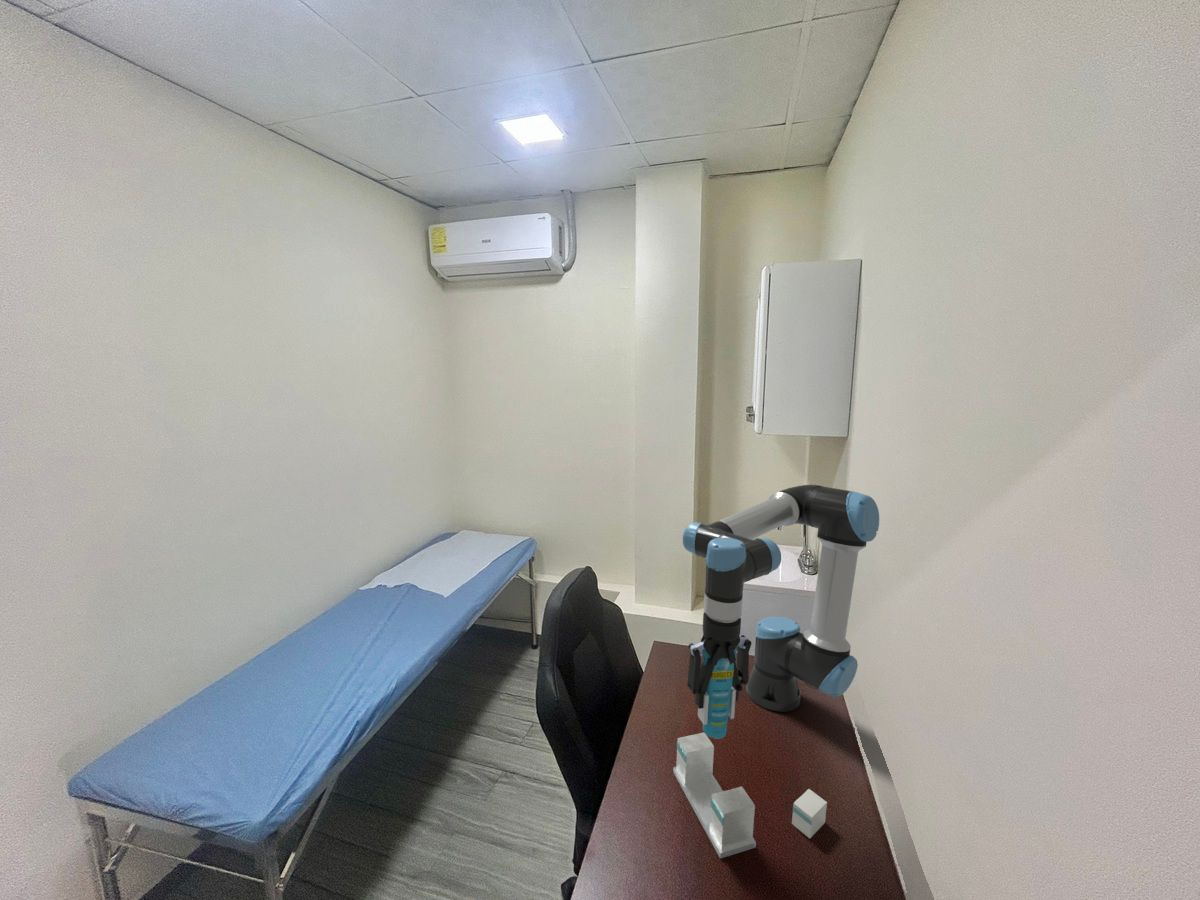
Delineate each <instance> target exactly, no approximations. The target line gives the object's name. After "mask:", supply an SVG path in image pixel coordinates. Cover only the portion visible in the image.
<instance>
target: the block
mask: <svg viewBox="0 0 1200 900" xmlns="http://www.w3.org/2000/svg"><path fill="white" fill-rule="evenodd" d="M827 806H828V802H827V801H826V800H825V799H823V798H822V797H821V796H819V795H818V794H817V793H816V792H814V791H813V790H811V789H810V788H808V789H807V790H805V792H804V793H803V794H802V795H800V796H799V797H798V798H797V799H796V800H795V801H794V802H793V806H792V816H791V817H792V818H791V824H792V825H793V826H794V827H795V828H796V829H798V830H799V831H800V832H801V833H802V834H803V835H805V837H807V838H808V839H811V838H812V837H814V835H815V834H816V833H817V832H818V831H819V830H820V829H821V828H822V827H823V825H824V824H825V823H826V818H827V817H826V816H827Z"/></svg>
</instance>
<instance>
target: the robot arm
mask: <svg viewBox="0 0 1200 900" xmlns="http://www.w3.org/2000/svg"><path fill="white" fill-rule="evenodd" d="M879 512H880V511H879V507H878V505H877V502H876V501H875V499H874V498H872V497H871V496H869V495H868V494H864V493H860V492H857V491H854V490H848V489H841V488H835V487H828V486H822V485H819V484H803V485H797V486H792V487H788V488H785V489H781V490H779V491H776V492H774V493H772V494H771V495H769V497H768V499H766V500H765V501H762V502H760V503H757V504H755V505H752V506H750V507H748V508H746V509H743V510H741V511H738V512H737V513H734V514H731V515H729V516H727V517H724V518H722V519H719V520H717V521H715V522H712V523H709V524H705V523H702V522H695V521H694V522H691V523H689V524H688V525H687V526H686V528H685V529H684V531H683V534H682V545H683V547H684V550H686V551H687V552H689V553H692V554H694V555H695V557H701V558H702V559H705V582H704V583H705V586H704V597H703V599H704V601H703V611H704V612H703V614H702V633H703V634H702V637H701V638H700V642H698V643H696V644H695V643H693V642H690V643H689V644H688V649H689V651H688V652H689V653H690V655H689V662H688V663H689V664H688V674H687V684H686V685H687V688H688V690H689V691H691V693H692V694H693V695H695V700H694V702H695V705H696V706H697V717H698V718H699V720H700V721H701V723H702V725H703V724H704V725H706V724H707V720H708V703H709V695H708V694H707V692H706V691H707V687H708V684H709V681H710V678H711V675H712V672H713V669H714V666H715V665H717V662H718V660H719V659H721V658H725V659H726V658H728V660H729V662H730V665H731V664H732V663H734V672H733V680H732V688H731V695H730V704H729V712H728V718H730V720H733V719H735V714H736V713H735V712H736V711H735V709H736V702H738V701H739V693H740V692H741V691H743V688H744V687H743V686H742V685H744V686H745V688H746V689H745V690H746V693H747V696H748V697H749V699H751V700H752V701H753V702H754V703H755V704H757V705H758V706H760V707H762V708H764V709H767V710H770V711H774V712H780V713H783V712H784V713H787V712H792V711H794V710H796V709H798V707H799V706H800V703H801V690H800V687H799V683H798V680H800V681H802V682H803V683H805V684H807V685H810V686H811V687H813V688H815V689H816V690H818V691H819V692H820V693H821V692H822V693H823V694H826V695H829V696H831V697H833V698H837V697H840V696H842V695H843V694H845V692H847V690H848V689H849V688H850V686H851V685H852V683H853V681H854V679H855V676H856V674H857V671H858V665H859V664H858V660H857V658H856V657H854V656H853V655H851V644H850V643H849V641H848V640H847V639H846V636H847V629H848V622H849V618H850V617H849V615H850V608H851V604H852V603H851V602H852V596H853V595H852V594H853V589H854V582H855V576H856V571H857V562H858V556H859V552H860V551H861V550H863V549H865V548H866V546H867V543H868V542H872V541H873V540H874V539H875V538H876V537H877V534H878V533H877V532H879V528H880V513H879ZM797 524H798V525H803V526H804V525H805V526H808V527H812V528H815V529H817V535H816V537H817V539H818V540H819V542H820V543H821V550H820V558H819V566H818V573H817V580H816V585H815V593H814V600H813V606H812V613H811V621H810V625H809V626H810V627H809V628H808V629H806V630H804V631H803V633H802V632H800V631H801V626H800V625H799V623H798V622H796V621H795V620H793V619H790V618H787V617H783V616H781V617H780V616H768V617H765V618H762V619H760V621H758V623H757V625H756V632H755V633H754V634H755V635H754V636H755V642H754V644H755V645H754V658H753V659H754V661H753V667H752V669H751V671H750V675H749V666H750V665H749V662H750V661H749V660H750V656H749V655H750V650H751V646H752V644H753V643H752V641H751V640H750V639H749V638H747V636H745V634H743V635H741V626H742V625H741V624H742V618H741V617H742V615H743V594H744V592H743V591H744V584H745V583H747V582H749V581H751V580H755V579H757V578H760V577H763V576H767V575H769V574H770V573H773V572H774V571H776V570H777V569H778V568H779V567H780V566H781V563H782V551H781V550H780V548H779V546H778V544H777V543H776V542H775V541H774V540H773V539H770V538H767V537H761V536H762V535H765V534H767V533H768V532H771V531H773V530H775V529H777V528H779V527H781V526H784V527H788V526H793V525H797ZM758 537H759V538H758ZM740 635H741V636H740ZM736 647H737V654H736V658H735V653H734V650H735V649H736ZM703 649H705V650H706V652H707V653H708V654H709V656H710V657H711V658H708V660H707V663H706V665H704V664H703V661H702V657H703ZM797 679H798V680H797Z"/></svg>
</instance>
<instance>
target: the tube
mask: <svg viewBox="0 0 1200 900" xmlns="http://www.w3.org/2000/svg"><path fill="white" fill-rule="evenodd" d="M734 653H735V658H736V659H737V647H736V649H735V650H734ZM708 658H711V657H710V656H709V654H708V653H707V652H706V650H705V649H703V650H702V659H703V660H702V662H703V664H704V665H706V663H707V660H708ZM733 672H734V663H732V664H731V665H730V662H729V660H728V658H726V659H725V658H721V659H719V660H718V662H717V665H715V666H714V669H713V672H712V675H711V678H710V681H709V684H708V687H707V691H706V692H707V694H708V695H709V703H708V720H707V724H706V725H704V724H703V723H702V731H703V732H704V733H705V734H706V735H707V737H708V738H711V739H716V740H718V739H720V740H721V739H723V738H725V737H726V734H727V729H728V718H729V716H728V712H729V704H730V695H731V688H732V680H733Z"/></svg>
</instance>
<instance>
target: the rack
mask: <svg viewBox="0 0 1200 900" xmlns="http://www.w3.org/2000/svg"><path fill="white" fill-rule="evenodd" d="M714 753H715V746H714V743H713V742H712V741H711V740H710V737H709V736H707V735H706V734H705V732H704V731H703V732H700V733H695V734H691V735H690V734H689V735H686V736H681V737H677V741H676V763H675V764H676V766H674V767H673V768H672V772H673V775H674V776H675V778H676V780H677V782H678V784H679V786H680V788H681V789H682V791H683V793H684V794H685V797H686V798H687V800H688V802H689V803H690V806H691V808H692V809H693V811H694V813H695V815H696V816H697V819H698V820H699V822H700V824H701V826H702V827H703V830H704V831H705V833H706V835H707V837H708V839H709V841H710V842H711V844H712V846H713V848H714V851H715V852H716V855H718V857H719V859H723V858H726V857H731V856H733V855H737V854H739V853H743V852H747V851H749V850H751V849H756V848H757V847H756V846H757V842H756V840H755V838H754V837H753V836H754V824H755V808H756V805H755V803H754V801H753V800H752V799H751V798H750V796H749V795H748V793H747V792H746V790H745V788H744V787H743V786H738V787H733V788H731V789H728V790H723V789H722V787H721V785H720V784H719V782H718V781H717V779H716V778H715V776H714V775H713V770H714V755H715V754H714Z"/></svg>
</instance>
